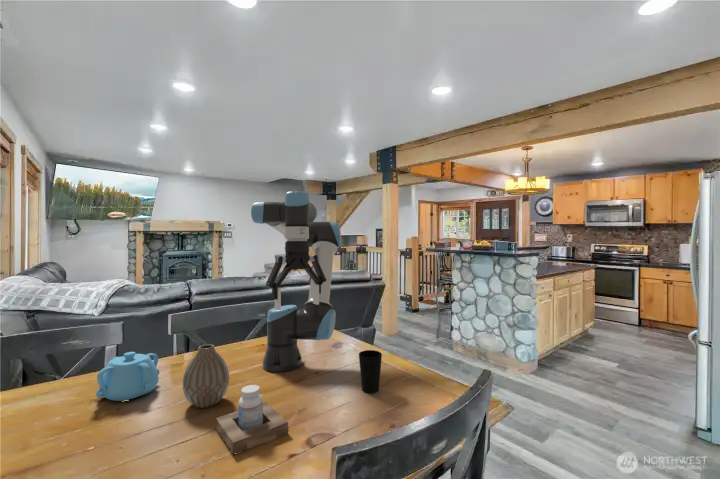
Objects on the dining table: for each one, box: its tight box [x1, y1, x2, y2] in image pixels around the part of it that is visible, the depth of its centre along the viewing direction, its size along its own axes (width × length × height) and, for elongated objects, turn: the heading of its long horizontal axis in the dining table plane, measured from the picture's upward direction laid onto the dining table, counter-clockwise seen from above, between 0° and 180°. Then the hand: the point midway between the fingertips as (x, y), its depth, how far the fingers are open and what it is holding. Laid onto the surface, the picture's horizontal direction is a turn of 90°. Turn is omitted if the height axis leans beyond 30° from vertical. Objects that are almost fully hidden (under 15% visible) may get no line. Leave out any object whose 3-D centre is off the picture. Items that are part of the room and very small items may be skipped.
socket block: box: [215, 401, 289, 455], centre depth 89 cm, size 14×14×3 cm
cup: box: [358, 349, 383, 395], centre depth 113 cm, size 8×8×12 cm
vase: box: [182, 343, 230, 409], centre depth 105 cm, size 13×13×18 cm
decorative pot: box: [95, 351, 160, 402], centre depth 111 cm, size 16×16×14 cm
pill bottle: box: [237, 384, 264, 431], centre depth 89 cm, size 6×6×11 cm
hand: (297, 306), depth 109 cm, fingers open, 13 cm apart
